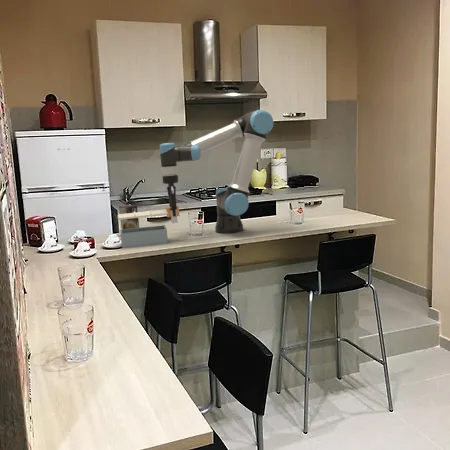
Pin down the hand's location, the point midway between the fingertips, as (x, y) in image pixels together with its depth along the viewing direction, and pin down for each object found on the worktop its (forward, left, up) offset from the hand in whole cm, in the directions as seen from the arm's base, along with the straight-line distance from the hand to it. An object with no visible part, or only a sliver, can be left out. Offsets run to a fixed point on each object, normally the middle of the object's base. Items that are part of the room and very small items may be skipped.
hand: (174, 222), depth 258 cm
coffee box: (+22, -33, -10) cm, 41 cm away
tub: (+16, 0, -10) cm, 19 cm away
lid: (+12, 0, +3) cm, 13 cm away
